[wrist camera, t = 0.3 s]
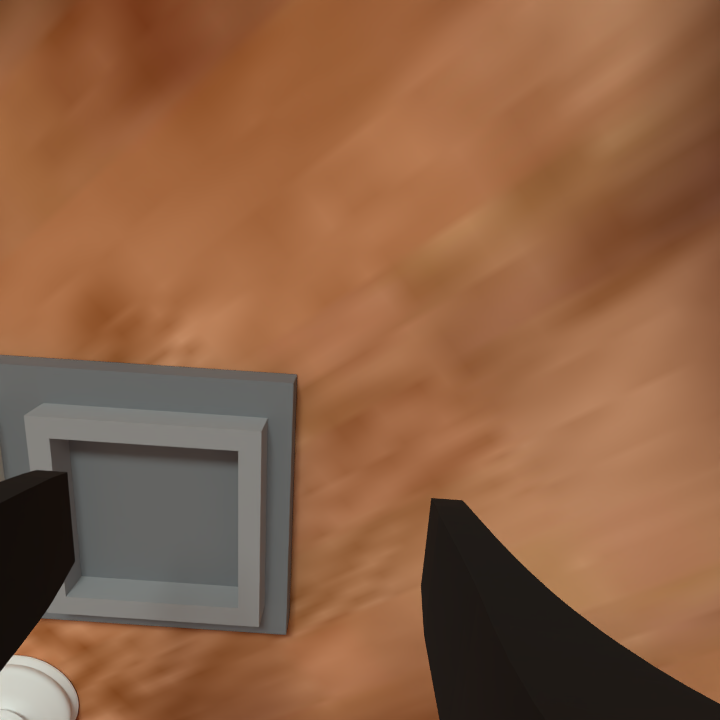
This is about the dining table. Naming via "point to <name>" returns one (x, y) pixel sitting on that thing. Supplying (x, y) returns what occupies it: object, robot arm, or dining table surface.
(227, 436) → the socket board
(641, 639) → the dining table surface
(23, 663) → the chess piece
